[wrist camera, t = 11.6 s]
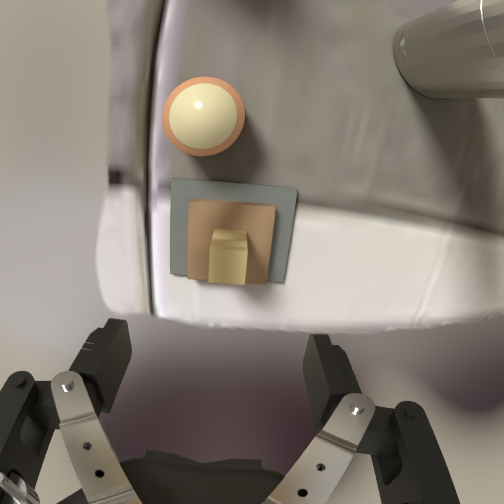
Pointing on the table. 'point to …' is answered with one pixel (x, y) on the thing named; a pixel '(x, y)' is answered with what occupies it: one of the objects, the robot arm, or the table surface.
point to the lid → (229, 241)
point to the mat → (231, 192)
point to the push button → (203, 116)
